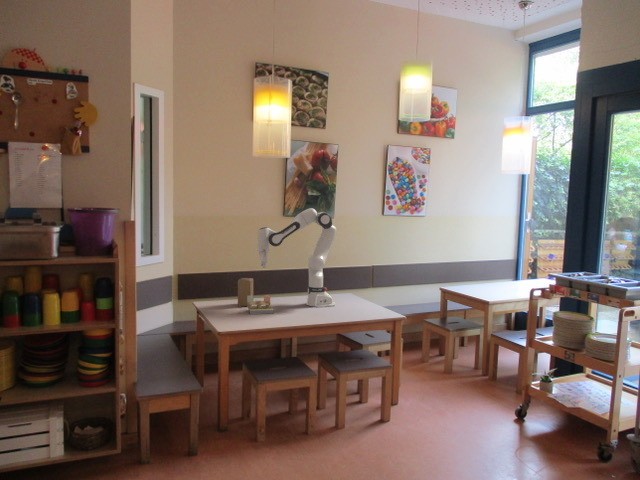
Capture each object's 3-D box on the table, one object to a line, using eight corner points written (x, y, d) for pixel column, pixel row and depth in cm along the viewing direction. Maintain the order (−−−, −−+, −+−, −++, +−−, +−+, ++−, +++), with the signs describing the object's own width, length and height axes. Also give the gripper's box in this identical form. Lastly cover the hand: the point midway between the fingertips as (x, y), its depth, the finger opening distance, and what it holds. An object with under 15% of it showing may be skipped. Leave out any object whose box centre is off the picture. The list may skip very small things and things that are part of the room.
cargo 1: (252, 301, 350) (252, 295, 350) (253, 302, 347) (253, 296, 346) (247, 301, 349) (247, 295, 349) (247, 302, 346) (247, 296, 345)
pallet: (269, 307, 354) (269, 300, 354) (270, 308, 349) (270, 301, 348) (247, 307, 351) (247, 300, 350) (247, 309, 345) (247, 302, 345)
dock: (270, 309, 358) (270, 305, 358) (273, 313, 346) (273, 309, 346) (248, 310, 354) (248, 305, 354) (250, 314, 343) (250, 309, 342)
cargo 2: (269, 300, 353) (269, 295, 353) (270, 301, 349) (270, 296, 349) (263, 300, 352) (264, 295, 352) (264, 301, 349) (264, 296, 348)
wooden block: (253, 303, 375) (253, 278, 373) (250, 306, 365) (250, 280, 363) (240, 303, 376) (241, 277, 374) (237, 306, 366) (237, 279, 364)
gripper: (269, 250, 359) (269, 268, 361) (266, 247, 379) (265, 265, 380) (260, 250, 358) (260, 269, 359) (257, 247, 378) (257, 265, 379)
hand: (263, 266), depth 370 cm, fingers open, 8 cm apart
